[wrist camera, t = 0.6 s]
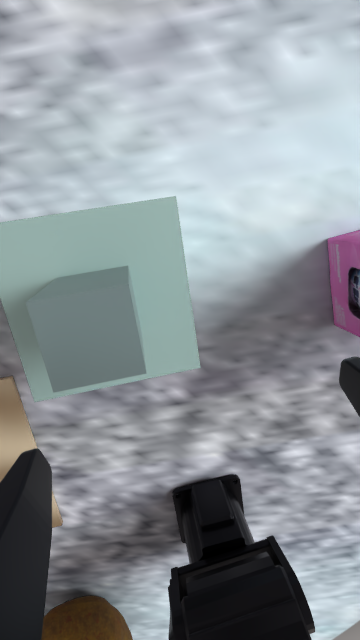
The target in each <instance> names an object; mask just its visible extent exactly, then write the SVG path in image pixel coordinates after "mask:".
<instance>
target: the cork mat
mask: <svg viewBox="0 0 360 640" xmlns="http://www.w3.org/2000/svg"><path fill="white" fill-rule="evenodd" d="M35 448H37V445H36V443H35V440H34V437H33V434H32V431H31V428H30V425H29V422H28V419H27V417H26V414H25V411H24V408H23V405H22V402H21V399H20V396H19V393H18V390H17V388H16V385H15V382H14V379H13V376H10V377H5V378H0V482H1V481H2V479H3V478H4V476H5V475H6V474H7V472H8V471H9V469H10V468H11V467H12V465H13V464H14V463H15V461H16V460H17V458H18V457H19V456H20V454H21V453H23V452H25V451H28V450H31V449H35ZM37 449H38V448H37ZM62 523H63V521H62V518H61V515H60V512H59V509H58V506H57V503H56V500H55V498H54V495H53V492H52V528H53V527H57V526H61V525H62Z"/></svg>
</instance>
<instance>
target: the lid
mask: <svg viewBox="0 0 360 640" xmlns="http://www.w3.org/2000/svg"><path fill="white" fill-rule="evenodd" d="M0 299H1V302H2V305H3V308H4V311H5V314H6V317H7V320H8V323H9V326H10V329H11V332H12V335H13V338H14V341H15V344H16V347H17V350H18V353H19V356H20V359H21V362H22V365H23V369H24V372H25V375H26V378H27V381H28V384H29V387H30V390H31V393H32V396H33V399H34V402H38V401H43V400H48V399H53V398H57V397H62V396H67V395H72V394H77V393H81V392H86V391H91V390H96V389H101V388H105V387H110V386H115V385H120V384H125V383H129V382H134V381H139V380H144V379H149V378H153V377H158V376H163V375H168V374H173V373H178V372H182V371H187V370H192V369H197V368H201V367H200V360H199V353H198V346H197V339H196V332H195V325H194V318H193V312H192V305H191V298H190V291H189V284H188V277H187V270H186V263H185V256H184V249H183V242H182V235H181V228H180V221H179V214H178V207H177V200H176V196H173V197H167V198H160V199H154V200H147V201H140V202H134V203H127V204H121V205H114V206H107V207H101V208H94V209H88V210H81V211H74V212H68V213H61V214H55V215H48V216H41V217H35V218H28V219H22V220H15V221H8V222H2V223H0Z"/></svg>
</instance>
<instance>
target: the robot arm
mask: <svg viewBox="0 0 360 640" xmlns="http://www.w3.org/2000/svg"><path fill="white" fill-rule="evenodd" d="M339 383H340V386H341V388H342V390H343V391H344V393H345V394H346V396H347V398H348V399H349V401H350V402H351V404H352V405H353V407H354V409H355V410H356V412H357V413H358V415H359V417H360V358H359V357H351V358H348V359H344V360H343V361H342V362H341V368H340V376H339ZM234 480H235V481H234ZM177 494H179V495H177ZM172 495H173V500H174V505H175V510H176V515H177V520H178V525H179V530H180V535H181V540H182V542H183V543H186V546H187V552H188V557H189V563H190V564H188V565H185V566H182V567H179V568H178V567H175V568H172V569H171V578H172V579H170V586H169V587H168V592H169V601H170V625H169V640H311V637H310V634H311V633H314V632H315V626H314V621H313V618H312V614H311V611H310V608H309V606H308V603H307V600H306V597H305V595H304V592H303V590H302V588H301V585H300V583H299V581H298V579H297V577H296V575H295V573H294V571H293V569H292V567H291V566H290V564H289V562H288V561H287V559H286V557H285V555H284V554H283V552H282V550H281V548H280V547H279V545H278V543H277V542H276V540H275V538H274V536H273V535H272V536H269V537H267V539H264V540H261V541H258V542H254V540H253V537H252V535H251V532H250V530H249V527H248V525H247V522H246V520H245V517H244V510H243V501H242V493H241V484H240V479H239V477H238V476H237V475H230V476H226V477H222V478H218V479H214V480H210V481H206V482H202V483H197V484H193V485H189V486H185V487H181V488H177V489H175V490H174V491H173V492H172ZM51 537H52V471H51V467H50V464H49V463H48V461H47V460H46V458H45V457H44V455H43V454H42V452H41V451H40V450H39V449H37V448H35V449H31V450H28V451H25V452H23V453H21V454H20V456H19V457H18V458H17V460H16V461H15V463H14V464H13V465H12V467H11V468H10V469H9V471H8V472H7V474H6V475H5V476H4V478H3V479H2V481H1V482H0V640H41V638H42V628H43V618H44V608H45V598H46V588H47V578H48V568H49V558H50V548H51Z"/></svg>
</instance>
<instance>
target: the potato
mask: <svg viewBox="0 0 360 640" xmlns="http://www.w3.org/2000/svg"><path fill="white" fill-rule="evenodd" d="M41 640H133V639H132V635H131V632H130V630H129V628H128V626H127V624H126V622H125V620H124V618H123V616H122V615H121V614H120V612H119V611H118V610H117V609H116V608H115V607H113V606H112V605H111V604H110V603H109V602H108V601H106V600H105V599H104V598H102V597H98V596H83V597H79V598H76V599H73V600H70V601H68V602H65V603H63V604H61V605H59V606H57V607H55V608H53V609H52V610H50V611H49V612H48V613H47V614H46V615H45V616H44V618H43V628H42V638H41Z"/></svg>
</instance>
